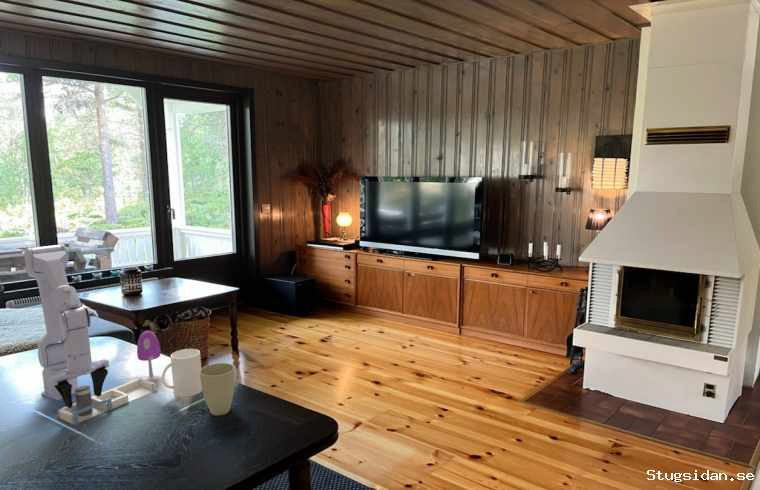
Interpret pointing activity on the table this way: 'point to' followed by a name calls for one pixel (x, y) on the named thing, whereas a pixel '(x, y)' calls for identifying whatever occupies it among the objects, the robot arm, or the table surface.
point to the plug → (83, 399)
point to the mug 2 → (218, 386)
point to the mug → (185, 372)
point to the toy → (148, 348)
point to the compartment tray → (109, 400)
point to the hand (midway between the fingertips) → (83, 401)
